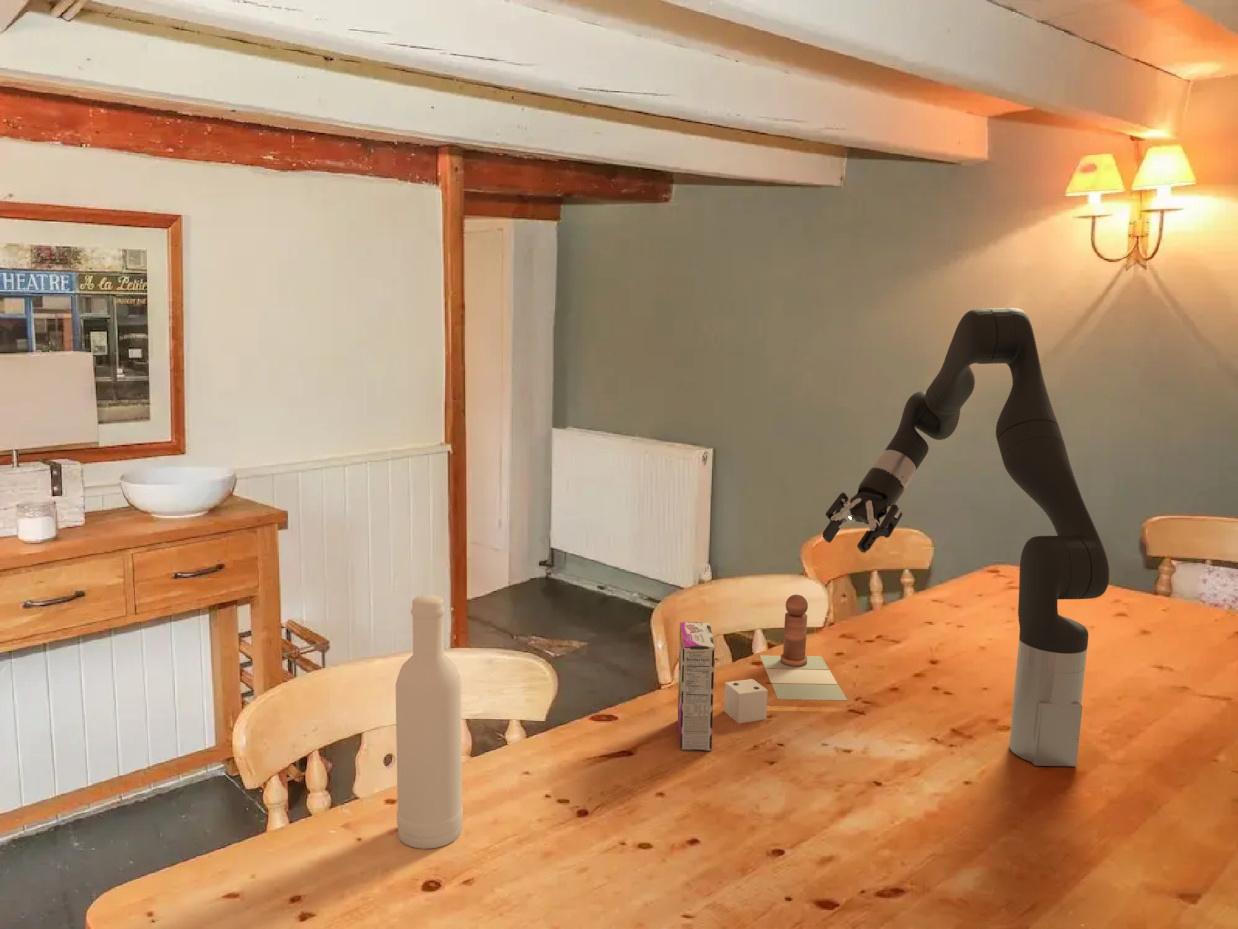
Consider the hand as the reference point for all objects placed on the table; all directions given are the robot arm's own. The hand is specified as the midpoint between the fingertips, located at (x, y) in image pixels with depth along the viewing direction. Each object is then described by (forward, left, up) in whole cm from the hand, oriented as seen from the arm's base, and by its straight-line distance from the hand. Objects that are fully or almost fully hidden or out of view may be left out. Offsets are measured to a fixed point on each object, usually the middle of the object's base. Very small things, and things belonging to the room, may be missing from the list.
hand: (843, 544), depth 183 cm
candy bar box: (-37, +30, -22) cm, 52 cm away
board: (-13, +9, -22) cm, 27 cm away
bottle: (-66, +65, -22) cm, 95 cm away
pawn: (-6, +9, -21) cm, 24 cm away
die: (-29, +21, -22) cm, 42 cm away
